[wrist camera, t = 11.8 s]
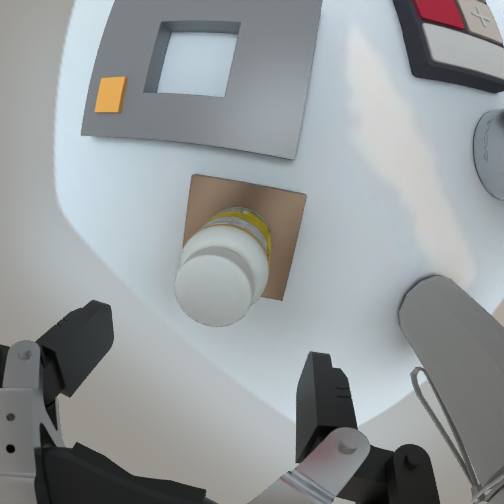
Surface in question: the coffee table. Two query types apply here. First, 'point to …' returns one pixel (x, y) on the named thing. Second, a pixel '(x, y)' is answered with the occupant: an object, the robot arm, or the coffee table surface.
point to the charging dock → (198, 106)
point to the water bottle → (461, 376)
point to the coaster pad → (260, 201)
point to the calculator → (453, 42)
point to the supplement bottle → (224, 267)
